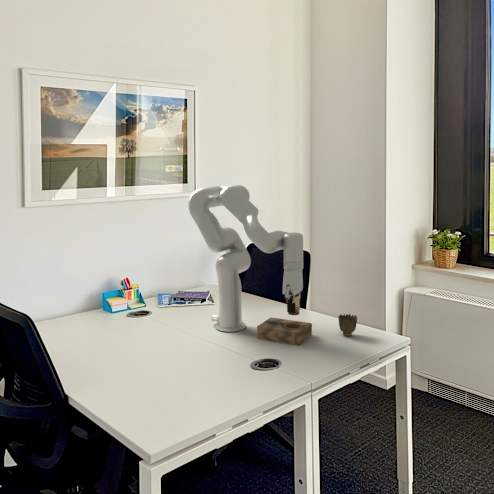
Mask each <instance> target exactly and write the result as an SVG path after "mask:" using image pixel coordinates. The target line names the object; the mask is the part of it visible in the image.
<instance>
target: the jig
mask: <svg viewBox="0 0 494 494" xmlns="http://www.w3.org/2000/svg"><path fill="white" fill-rule="evenodd" d="M312 334H313V323H312V322H306V321H299V320H291V319H284V318H278V317H269V318H268V319H266V320H264V321H262V322H261V323H260V324H259V325H257V326H256V338H257V339H258V340H263V341H269V342H270V341H271V342H275V343H276V342H277V343H281V344H286V345H287V344H289V345H294V346H302V344H303V343H305V341H307V340H308V339H309V338H310V337H312V336H313V335H312Z"/></svg>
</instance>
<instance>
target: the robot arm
mask: <svg viewBox="0 0 494 494" xmlns="http://www.w3.org/2000/svg"><path fill="white" fill-rule="evenodd" d="M250 196H251V195H250V192H249V190H248V189H247V187H245V186H243V185H239V184H236V185H216V186H215V185H214V186H208V187H206V186H205V187H200V188H197V189H196V190H194V191H193V192H192V193H191V195H190V196H189V198H188V199H189V200H188V210H189V214H190V216H191V218H192V219H193V221H194V223H195V224H196V226H197V227H198V230H199V232H200V234H201V235H202V237H203V239H204V241H205V243H206V245H207V247H208V249H209V250H210V251H211V252H212V253H216V254H218V253H219V254H220V253H223V252H225V253H224V254H222V255H220V256H219V257H218V258H217V260H216V263H215V271H216V276H217V284H218V285H217V288H218V315H217V314H212V315H211V322H212V321H213V322H216V323H215V324H214V325H215V327H214V328H215V329H216V330H218V331H220V332H225V333H233V332H234V333H235V332H241V331H243V330H245V328H246V323H245V322H243V320H242V319H243V316H242V314H243V311H242V310H243V307H242V305H243V303H242V301H243V299H242V283H241V282H242V281H241V278H240V276H239V274H241V273H243V272H245V271H247V270H249V268H250V267H251V264H252V260H251V256H250V253H249V251H248V249H247V247H246V246H245V244H244V242H243V240H242V238H241V236H240V234H239V233H238V232H237V230H235V229H233V228H231V227H228V226H227V227H226V226H225V227H222V225H221V224H220V222H219V220H218V218H217V217H216V215H215V214H214V213H213V212H211V210H210V208H216V207H225V208H226V209H227V210H228V211H229V213H231V214H232V216H234V217H235V218H236V220H238V221H239V222H240V223H241V224H242V225H243V229H244V231H245V233H246V236H247V238H248V239H249V240H250V241H251V243H252V244H254V246H256V247H257V248H258V249H259V250H260V251H261V252H263V253H266V254H273V253H275V252H278V251H282V250H283V270H284V271H283V278H282V294H283V295H284V298H285V300H286V312H287V313H288V312H289V313H295V303H294V301H295V295H299V305H300V306H301V293H302V291H303V288H304V279H303V269H304V236H303V234H302V233H301V232H287V231H284V230H274V231H270V232H268V231H267V230H266V229H265V228H264V226H262V224H261V223H260V222H259V220H258V215H259V209H258V208H257V206H255V204H254V203H252V202H251V201H250V198H251V197H250ZM290 296H292V298H291V297H290Z"/></svg>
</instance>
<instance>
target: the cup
mask: <svg viewBox="0 0 494 494" xmlns="http://www.w3.org/2000/svg"><path fill="white" fill-rule="evenodd" d="M337 318H338V327H339V330H340V332H341V333H342V335H343V337H348V338H349V337H352V336H353V333H354V331H356V328H357V324H358V323H357V322H358V316H357V315H356V314H355V315H354V314H352V315H351V314H350V313H349V314H348V313H346V314H345V313H344V314H339V315H338V317H337Z"/></svg>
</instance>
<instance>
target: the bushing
mask: <svg viewBox="0 0 494 494" xmlns="http://www.w3.org/2000/svg"><path fill="white" fill-rule="evenodd" d="M290 297H291V298H292V296H290ZM294 303H295V313H289V312H287V314H288V315H289V316H298V315H300V310H301V304H300V305H299V295H295V301H294Z"/></svg>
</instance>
